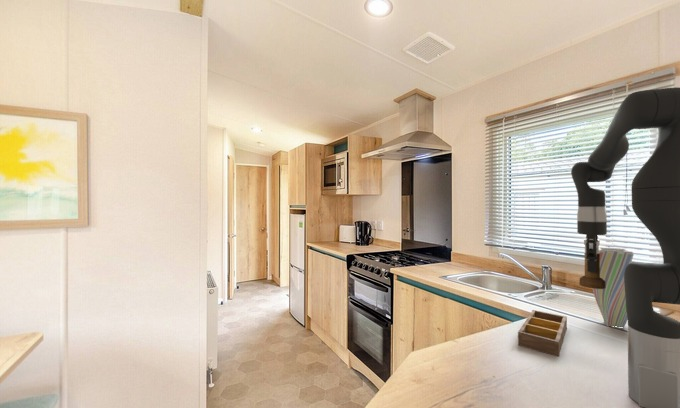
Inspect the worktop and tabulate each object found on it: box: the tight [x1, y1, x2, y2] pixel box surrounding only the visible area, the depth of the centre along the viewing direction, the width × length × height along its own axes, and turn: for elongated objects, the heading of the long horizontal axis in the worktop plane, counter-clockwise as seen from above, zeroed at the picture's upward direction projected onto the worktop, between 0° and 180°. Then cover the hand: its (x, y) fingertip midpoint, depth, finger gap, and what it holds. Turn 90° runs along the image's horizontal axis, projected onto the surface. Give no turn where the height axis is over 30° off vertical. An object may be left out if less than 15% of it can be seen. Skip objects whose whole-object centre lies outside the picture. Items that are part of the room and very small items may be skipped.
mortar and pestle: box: [579, 234, 606, 289], centre depth 98 cm, size 7×6×18 cm
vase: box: [591, 246, 635, 329], centre depth 114 cm, size 14×14×30 cm
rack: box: [517, 309, 568, 357], centre depth 105 cm, size 28×11×4 cm, turn 138°
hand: (592, 270), depth 98 cm, fingers closed on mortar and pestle, 4 cm apart
